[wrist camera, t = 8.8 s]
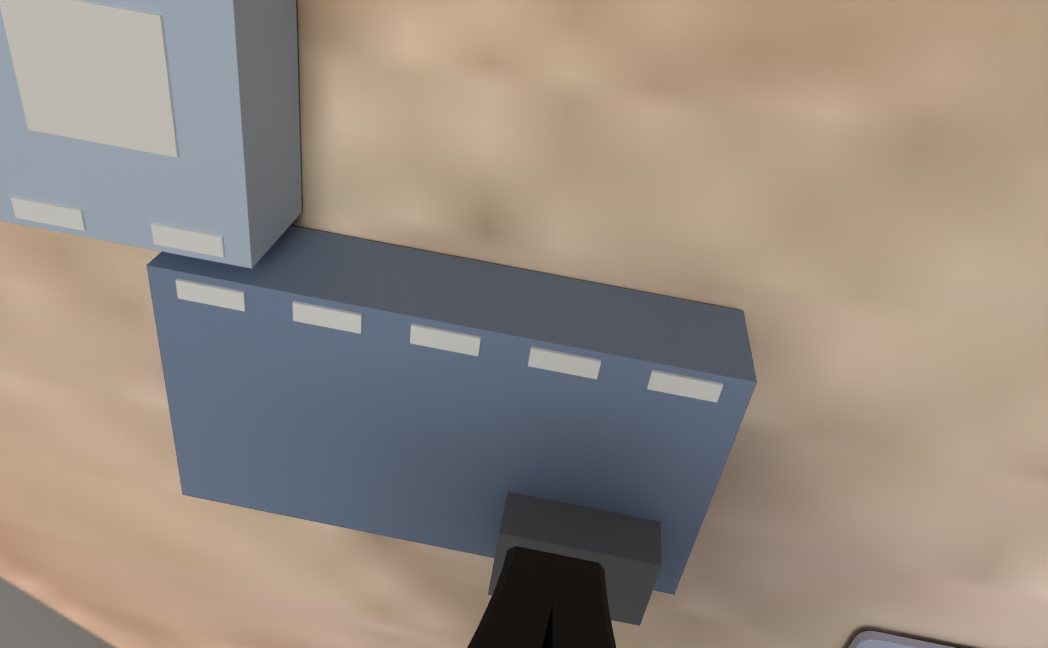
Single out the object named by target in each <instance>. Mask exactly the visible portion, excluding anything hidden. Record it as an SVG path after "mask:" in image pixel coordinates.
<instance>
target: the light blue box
mask: <svg viewBox="0 0 1048 648" xmlns="http://www.w3.org/2000/svg"><path fill="white" fill-rule="evenodd" d="M301 212H302V198H301V160H300V123H299V85H298V48H297V11H296V0H0V221H5V222H11V223H16V224H21V225H26V226H31V227H37V228H42V229H47V230H52V231H58V232H63V233H68V234H73V235H79V236H84V237H89V238H94V239H100V240H105V241H110V242H115V243H120V244H126V245H131V246H136V247H141V248H147V249H152V250H157V251H162V252H168V253H173V254H178V255H183V256H189V257H194V258H199V259H204V260H209V261H215V262H220V263H225V264H230V265H236V266H241V267H246V268H251V269H252V268H253V267H254V265H255V264H256V263H257V262H258V261H259V260H260V259H261V258H262V256H263V255H264V254H265V253H266V252H267V251H268V250H269V249H270V247H271V246H272V245H273V244H274V243H275V242H276V241H277V240H278V238H279V237H280V236H281V235H282V234H283V233H284V232H285V231H286V229H287V228H288V227H289V226H290V225H291V224H292V223H293V221H294V220H295V219H296V218H297V217H298V216H299V215H300V214H301Z"/></svg>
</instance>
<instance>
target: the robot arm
mask: <svg viewBox="0 0 1048 648" xmlns="http://www.w3.org/2000/svg"><path fill="white" fill-rule="evenodd" d="M467 648H616V644H615V639H614V634H613V629H612V623H611V618H610V612H609V605H608V598H607V590H606V582H605V569H604V568H603V567H602V566H601V565H600V563H598V562H593V561H588V560H583V559H578V558H573V557H568V556H564V555H559V554H554V553H549V552H544V551H539V550H534V549H529V548H524V547H519V546H514V547H512V548H510V549H507V552H506V556H505V560H504V564H503V567H502V570H501V573H500V576H499V579H498V582H497V585H496V587H495V590H494V592H493V595H492V597H491V599H490V602H489V604H488V606H487V609H486V611H485V613H484V615H483V617H482V619H481V622H480V624H479V626H478V628H477V630H476V632H475V634H474V636H473V638H472V640H471V642H470V644H469V645H468V647H467ZM849 648H955V647H950V646H945V645H940V644H935V643H930V642H925V641H921V640H916V639H911V638H906V637H901V636H896V635H891V634H886V633H881V632H876V631H865V632H862V633H859V634H858V635H857V636H856V637H855V638H854V640H853V641H852V643H851V644H850V646H849Z"/></svg>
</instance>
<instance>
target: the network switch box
mask: <svg viewBox="0 0 1048 648" xmlns="http://www.w3.org/2000/svg"><path fill="white" fill-rule="evenodd" d="M147 271H148V278H149V284H150V290H151V297H152V303H153V309H154V316H155V322H156V328H157V335H158V341H159V347H160V354H161V360H162V367H163V373H164V379H165V386H166V392H167V398H168V405H169V411H170V417H171V424H172V430H173V436H174V443H175V449H176V455H177V462H178V468H179V474H180V481H181V487H182V493H183V495H186V496H191V497H196V498H201V499H206V500H211V501H216V502H221V503H226V504H231V505H236V506H241V507H245V508H250V509H255V510H260V511H265V512H270V513H275V514H280V515H285V516H290V517H295V518H300V519H305V520H310V521H315V522H319V523H324V524H329V525H334V526H339V527H344V528H349V529H354V530H359V531H364V532H369V533H374V534H379V535H384V536H388V537H393V538H398V539H403V540H408V541H413V542H418V543H423V544H428V545H433V546H438V547H443V548H448V549H453V550H457V551H462V552H467V553H472V554H477V555H482V556H487V557H492V558H495V559H494V564H493V570H492V576H491V581H490V587H489V593H488V595H493V592H494V590H495V587H496V585H497V582H498V579H499V576H500V573H501V570H502V567H503V564H504V560H505V556H506V552H507V549H510V548H512V547H514V546H519V547H524V548H529V549H534V550H539V551H544V552H549V553H554V554H559V555H564V556H568V557H573V558H578V559H583V560H588V561H593V562H598V563H600V565H601V566H602V567H603V568H604V569H605V582H606V590H607V598H608V605H609V612H610V618H611V620H614V621H619V622H624V623H629V624H634V625H639V626H640V623H641V621H642V618H643V615H644V612H645V610H646V607H647V604H648V601H649V599H650V596H651V593H652V590H655V591H660V592H664V593H669V594H675V591H676V588H677V586H678V583H679V581H680V578H681V576H682V573H683V570H684V568H685V565H686V563H687V560H688V558H689V555H690V552H691V550H692V547H693V545H694V542H695V540H696V537H697V535H698V532H699V529H700V527H701V524H702V522H703V519H704V517H705V514H706V511H707V509H708V506H709V504H710V501H711V499H712V496H713V493H714V491H715V488H716V486H717V483H718V481H719V478H720V476H721V473H722V470H723V468H724V465H725V463H726V460H727V458H728V455H729V452H730V450H731V447H732V445H733V442H734V440H735V437H736V435H737V432H738V429H739V427H740V424H741V422H742V419H743V417H744V414H745V411H746V409H747V406H748V404H749V401H750V399H751V396H752V393H753V391H754V388H755V386H756V383H757V381H756V375H755V370H754V365H753V360H752V354H751V349H750V344H749V339H748V333H747V328H746V323H745V318H744V312H743V311H742V310H736V309H731V308H726V307H720V306H715V305H710V304H705V303H699V302H694V301H689V300H683V299H678V298H673V297H667V296H662V295H657V294H652V293H646V292H641V291H636V290H630V289H625V288H620V287H614V286H609V285H604V284H598V283H593V282H588V281H583V280H577V279H572V278H567V277H561V276H556V275H551V274H545V273H540V272H535V271H529V270H524V269H519V268H514V267H508V266H503V265H498V264H492V263H487V262H482V261H476V260H471V259H466V258H461V257H455V256H450V255H445V254H439V253H434V252H429V251H423V250H418V249H413V248H407V247H402V246H397V245H392V244H386V243H381V242H376V241H370V240H365V239H360V238H354V237H349V236H344V235H339V234H333V233H328V232H323V231H317V230H312V229H307V228H301V227H296V226H291V225H290V226H289V227H288V228H287V229H286V231H285V232H284V233H283V234H282V235H281V236H280V237H279V238H278V240H277V241H276V242H275V243H274V244H273V245H272V246H271V247H270V249H269V250H268V251H267V252H266V253H265V254H264V255H263V256H262V258H261V259H260V260H259V261H258V262H257V263H256V264H255V265H254V267H253V268H252V269H251V268H246V267H241V266H236V265H230V264H225V263H220V262H215V261H209V260H204V259H199V258H194V257H189V256H183V255H178V254H173V253H168V252H161V253H160V254H159V255H158V256H156V257H155V258H154V259H153V260H152V261H151V262H150V263H149V264H147Z"/></svg>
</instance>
